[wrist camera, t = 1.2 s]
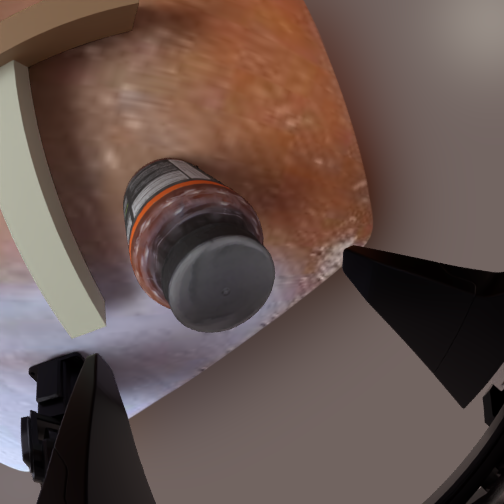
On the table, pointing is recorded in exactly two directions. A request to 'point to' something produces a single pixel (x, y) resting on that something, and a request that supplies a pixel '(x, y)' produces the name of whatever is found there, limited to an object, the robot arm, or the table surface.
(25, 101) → the wall board
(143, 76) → the table surface
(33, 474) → the robot arm
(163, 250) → the supplement bottle
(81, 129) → the table surface
